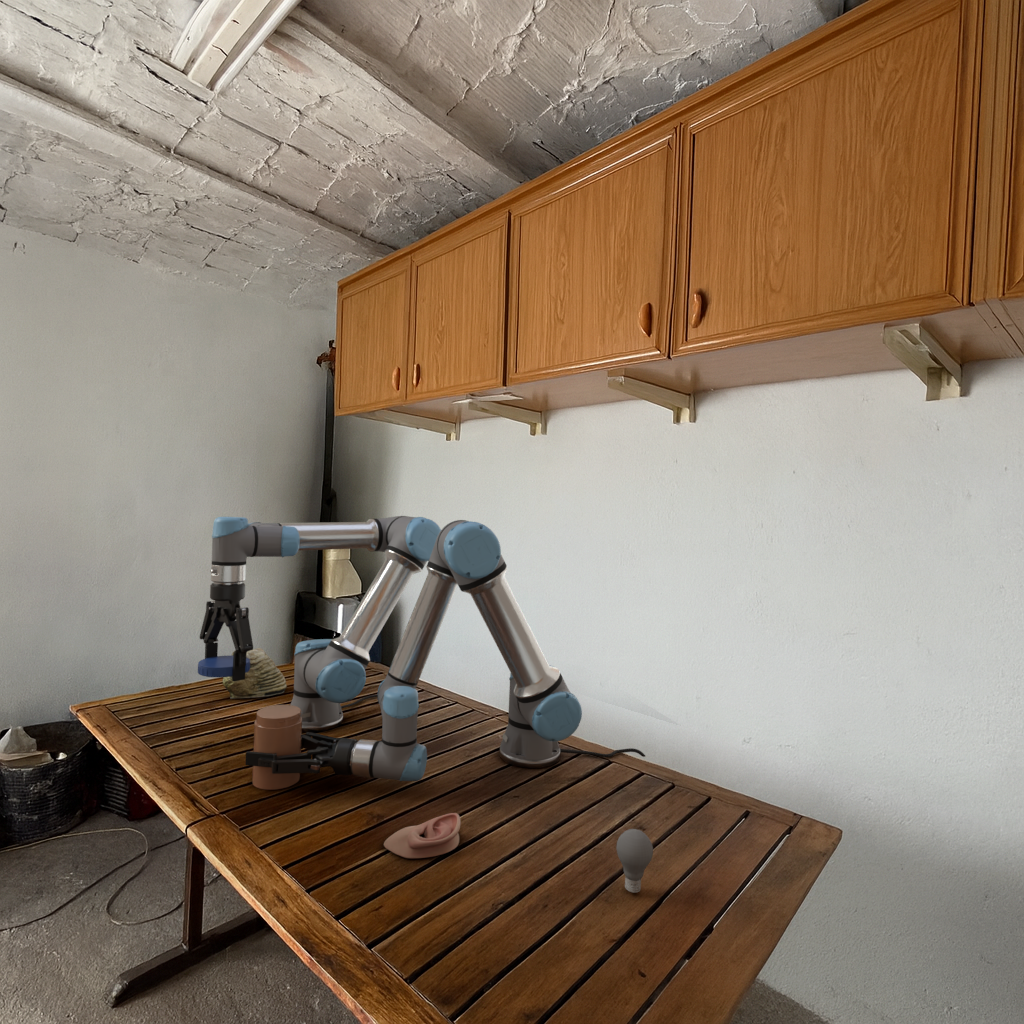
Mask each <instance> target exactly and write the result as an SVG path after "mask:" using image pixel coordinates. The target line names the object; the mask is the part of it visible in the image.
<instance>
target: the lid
mask: <svg viewBox="0 0 1024 1024" xmlns="http://www.w3.org/2000/svg"><path fill="white" fill-rule="evenodd" d="M249 670H250V659H249V658H247V657H246V666H245V673H246V672H248V671H249ZM197 674H198V675H200V676H202V677H206V678H223V677H231V676H232V675H233V656H231V655H217V656H216V657H210V658H206V659H205V658H203V659H201V660H199V661H198V662H197Z"/></svg>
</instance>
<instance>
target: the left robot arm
mask: <svg viewBox="0 0 1024 1024" xmlns="http://www.w3.org/2000/svg"><path fill="white" fill-rule="evenodd" d="M441 530H442V528H441V527H440V526H439V524H438V523H436V521H434V520H433V519H430V518H427V517H423V516H408V515H397V516H396V515H395V516H389V517H379V518H369V519H367V520H366V521H348V522H347V521H343V522H341V521H339V522H337V521H336V522H334V521H333V522H329V521H328V522H260V521H254V522H253V521H252V522H249V520H248V518H247V517H244V516H218V517H216V518H215V519H214V521H213V525H212V535H211V541H212V542H211V568H210V581H211V582H212V583H211V584H210V588H209V599H210V600H207V601H206V604H205V614H204V617H203V620H202V625H201V628H200V629H201V630H200V633H199V639H200V640H202V641H203V643H204V659H206V658H210V657H216V656H218V649H219V639H218V636H220V635H219V634H220V633H221V630H222V628H223V626H224V624H225V626H226V627H227V628H228V630H229V634H230V636H231V640H232V643H233V646H234V650H233V651H232V653H233V675H232V681H234V682H235V681H239V680H244V679H245V666H246V654H247V652H248V651H250V650H253V649H254V643H253V637H252V636H253V635H252V630H251V623H250V617H249V615H250V614H249V613H250V609H249V607H247V606H246V607H241V601H242V600H244V599H245V597H246V584H245V583H244V582H246V580H247V559H248V558H257V557H259V558H261V557H262V558H264V557H265V558H268V557H269V558H271V557H272V558H274V557H275V558H278V557H279V558H285V557H295V556H296V555H297V554H298V552H299V551H326V550H355V549H357V550H359V549H361V550H362V549H366V550H367V551H369V552H371V553H372V552H373V553H374V552H379V553H380V552H381V553H385V560H384V562H383V564H382V565H381V567H380V569H379V571H378V572H377V574H376V576H375V577H374V579H373V581H372V582H371V584H370V585H369V587H368V589H367V591H366V592H365V594H364V596H363V597H362V599H361V600H360V602H359V604H358V605H357V608H356V609H355V611H354V612H353V614H352V616H351V617H350V619H349V621H348V622H347V624H346V626H345V628H344V629H343V631H342V633H341V634H340V635H339V636H338V637H335V638H323V639H322V638H320V639H307V640H303V641H299V642H297V644H296V645H295V650H294V653H293V654H294V655H293V656H294V672H293V673H294V674H293V695H292V696H293V697H292V699H291V702H290V704H289V705H293V706H297V707H299V708H300V709H301V711H302V712H301V717H302V733H307V732H312V733H316V732H317V733H318V732H325V731H329V730H332V729H335V728H337V727H339V726H340V725H342V723H343V722H344V714H343V709H345V708H349V707H353V706H356V705H357V704H359V703H361V702H363V701H366V700H369V699H372V698H373V699H374V698H378V695H377V694H371V695H367V696H363V697H361V698H359V699H357V700H355V701H353V702H350V701H352V700H354V699H355V698H356V697H358V696H359V695H360V693H361V692H362V691H363V689H364V687H365V685H366V682H367V676H366V675H367V674H366V669H367V667H368V665H369V664H370V662H371V657H370V654H369V653H370V650H371V648H372V646H373V645H374V643H375V642H376V640H377V638H378V636H379V635H380V633H381V631H382V630H383V627H384V626H385V624H386V623H387V621H388V619H389V617H390V615H391V614H392V612H393V610H394V608H395V607H396V605H397V604H398V602H399V600H400V598H401V596H403V593H404V591H405V590H406V588H407V586H408V584H409V582H410V581H411V579H412V577H413V576H414V575H416V574H418V573H421V572H422V571H423V569H424V568H425V567H426V565H427V563H428V561H429V559H430V556H431V553H432V550H433V547H434V545H435V542H436V539H437V536H438V534H439V533H440V531H441ZM347 702H350V703H348V704H344V703H347ZM341 704H344V705H341Z"/></svg>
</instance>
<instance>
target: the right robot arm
mask: <svg viewBox="0 0 1024 1024" xmlns="http://www.w3.org/2000/svg"><path fill="white" fill-rule="evenodd" d="M425 567H426V570H427V575H426V578H425V580H424V583H423V585H422V588H421V590H420V593H419V595H418V597H417V600H416V603H415V604H414V607H413V610H412V612H411V613H410V617H409V620H408V622H407V625H406V627H405V629H404V631H403V634H402V638H401V639H400V642H399V644H398V646H397V649H396V651H395V653H394V657H393V658H392V661H391V663H390V666H389V668H388V672H387V674H386V676H385V678H384V679H383V680H382V681H381V682H380V684H379V686H378V688H377V695H378V697H377V702H378V704H379V708H380V713H381V721H382V723H381V725H382V726H381V727H382V729H381V731H382V732H381V740H376V739H375V740H373V739H361V738H360V739H359V740H358V739H357V738H347V737H334V736H329V735H324V734H320V733H316V732H305V734H302V739H301V750H304V749H305V750H307V751H306V752H301V753H300V754H291V755H283V756H277V753H274V754H272V753H261V752H253V751H250V750H249V751H248V750H247V751H246V752H245V764H244V765H245V766H249V767H250V766H252V767H253V766H260V767H271V768H272V773H273V774H282V773H300V774H314V775H316V774H317V775H318V774H320V773H321V769H322V768H329V767H330V768H332V770H333V772H334V773H333V774H335V775H337V776H338V775H339V776H349V777H350V776H352V775H353V776H354V777H361V778H362V777H363V778H365V779H366V780H367V779H368V780H369V779H370V778H371V779H372V778H373V779H383V780H392V781H399V782H419V781H421V780H422V779H423V777H424V775H425V772H426V768H427V762H428V753H427V752H428V749H427V746H425V745H424V744H420V743H418V737H417V735H418V733H417V732H418V719H419V718H418V717H419V716H418V715H419V708H420V704H419V692H418V690H417V686H418V684H419V681H420V678H421V675H422V673H423V671H424V668H425V665H426V664H427V661H428V659H429V656H430V653H431V651H432V649H433V646H434V644H435V641H436V639H437V636H438V634H439V631H440V629H441V626H442V625H443V623H444V622H443V621H444V619H445V616H446V614H447V611H448V609H449V607H450V604H451V602H452V599H453V597H454V594H455V592H456V590H457V588H459V590H460V591H461V592H462V593H466V594H469V595H470V596H471V598H472V599H473V602H474V604H475V606H476V608H477V610H478V611H479V614H480V616H481V618H482V619H483V621H484V623H485V626H486V627H487V629H488V631H489V633H490V635H491V637H492V639H493V641H494V643H495V645H496V647H497V649H498V651H499V653H500V655H501V657H502V659H503V660H504V663H505V664H506V666H507V668H508V670H509V672H510V673H509V674H510V675H509V677H508V678H509V679H508V681H509V689H508V715H507V716H508V718H507V726H506V728H505V731H504V732H503V734H502V737H501V738H502V739H501V742H500V745H499V757H500V759H501V760H503V761H504V762H505V763H507V764H509V765H512V766H515V767H520V768H527V769H540V768H547V767H551V766H553V765H555V764H557V763H558V762H559V761H560V759H561V753H564V754H575V755H576V754H577V755H586V756H587V755H588V756H596V757H600V758H612V757H614V756H615V755H618V754H624V753H636V754H638V755H640V757H643V758H644V757H645V758H646V754H645V753H644V752H643V751H642V750H640V749H638V748H633V747H632V748H631V747H630V748H622V749H616V750H613V751H611V752H609V753H600V752H597V751H589V750H581V749H580V750H579V749H567V748H560V745H559V744H560V743H559V742H560V741H564V740H566V739H568V738H570V737H571V736H572V735H573V734H575V732H576V731H577V729H578V728H579V726H580V723H581V721H582V716H583V709H582V704H581V703H580V701H579V699H578V697H577V696H576V695H575V694H574V693H572V692H571V691H570V689H569V687H568V686H567V683H566V681H565V680H564V677H563V676H562V673H561V671H560V670H559V668H557V667H555V666H554V665H552V664H549V662H548V661H547V658H546V656H545V654H544V652H543V651H542V648H541V646H540V644H539V642H538V640H537V637H536V636H535V634H534V632H533V630H532V628H531V626H530V625H529V622H528V620H527V619H526V616H525V614H524V612H523V611H522V608H521V606H520V604H519V601H518V600H517V599H516V596H515V594H514V592H513V591H512V588H511V586H510V585H509V582H508V580H507V578H506V572H507V570H508V565H507V564H506V561H505V559H504V557H503V555H502V548H501V544H500V540H499V538H498V537H497V535H496V534H495V532H494V531H493V530H492V529H491V528H489V527H488V526H487V525H485V524H483V523H480V522H478V521H471V520H470V521H469V520H465V519H457V520H454V521H450V522H449V523H447V524H446V525H444V526H443V527H442V528H441V531H440V533H439V534H438V536H437V539H436V542H435V545H434V547H433V550H432V553H431V556H430V559H429V561H427V563H426V565H425Z"/></svg>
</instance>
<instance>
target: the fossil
mask: <svg viewBox="0 0 1024 1024" xmlns="http://www.w3.org/2000/svg"><path fill="white" fill-rule="evenodd" d="M230 656H233V652H232V653H231V655H230ZM246 657H247V658H249V659H250V670H249V671H248V672H246V673H245V679H244V680H239V681H235V682H234V681H232V676H231V677H222V685H223V687H224V688H225V690H226V691H228V693H229V698H230V699H250V698H264V697H271V696H275V695H281V694H284V693H285V691H286V689H287V687H288V686H287V680H286V678H285V676H284V674H283V673H282V672H281V669H279V668H278V667H277V665H276V663H275V662H274V660H273V659H272V658H271V657H270V656H269V655H268V654H267V653H266V652H265V650H264V649H263V648H260V647H258V648H253V650H250V651H248V652H247V654H246Z"/></svg>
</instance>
